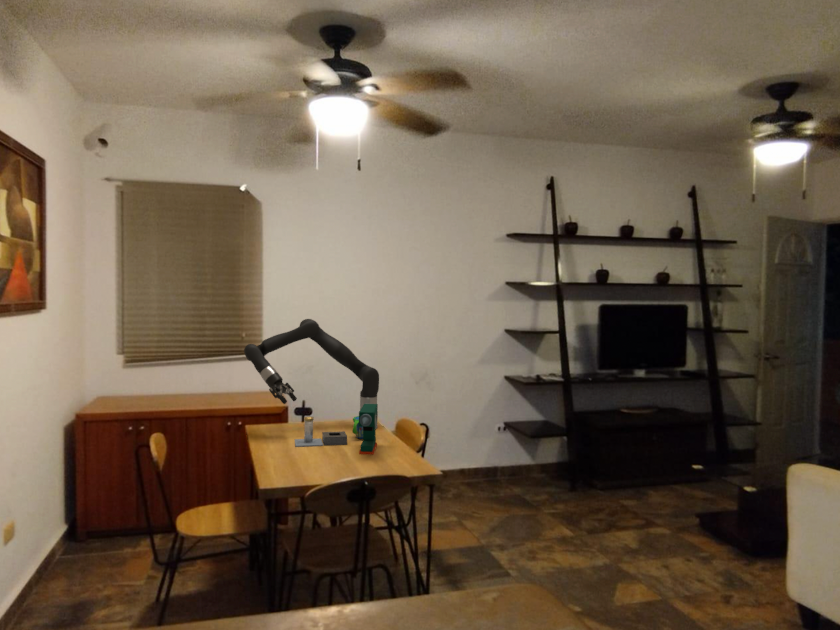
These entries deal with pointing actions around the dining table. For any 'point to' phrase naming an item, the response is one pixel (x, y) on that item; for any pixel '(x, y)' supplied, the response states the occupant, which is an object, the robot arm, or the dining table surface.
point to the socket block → (334, 438)
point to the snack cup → (357, 428)
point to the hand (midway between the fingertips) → (290, 401)
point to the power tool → (368, 428)
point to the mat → (302, 444)
